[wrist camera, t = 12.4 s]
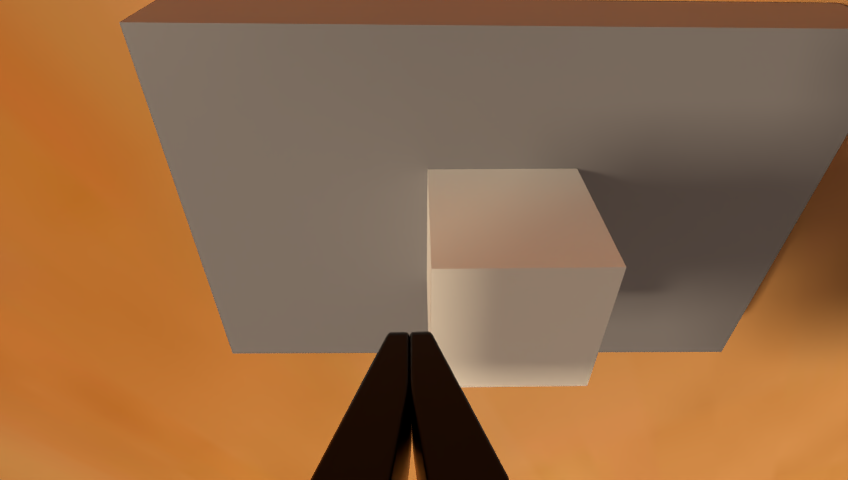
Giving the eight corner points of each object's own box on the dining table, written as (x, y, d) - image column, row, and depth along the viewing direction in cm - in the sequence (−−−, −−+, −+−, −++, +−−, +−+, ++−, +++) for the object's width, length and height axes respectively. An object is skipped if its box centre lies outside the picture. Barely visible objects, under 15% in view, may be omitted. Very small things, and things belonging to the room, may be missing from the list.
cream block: (558, 131, 19) (626, 267, 13) (539, 235, 22) (587, 385, 16) (426, 131, 19) (431, 268, 13) (425, 236, 22) (429, 387, 16)
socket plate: (838, 2, 17) (907, 29, 14) (692, 304, 25) (721, 351, 23) (162, -4, 16) (119, 22, 14) (250, 304, 25) (232, 353, 22)
